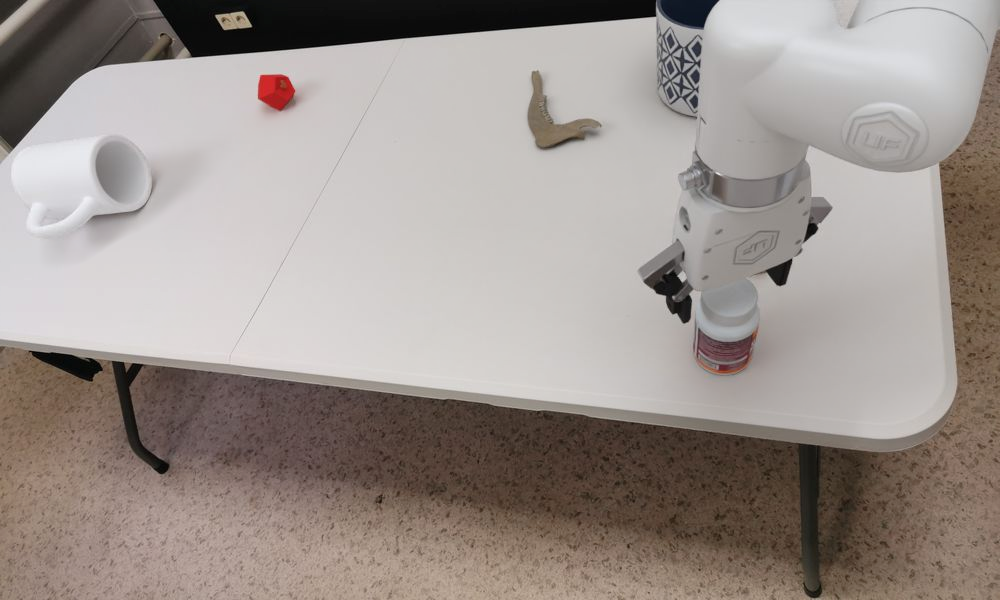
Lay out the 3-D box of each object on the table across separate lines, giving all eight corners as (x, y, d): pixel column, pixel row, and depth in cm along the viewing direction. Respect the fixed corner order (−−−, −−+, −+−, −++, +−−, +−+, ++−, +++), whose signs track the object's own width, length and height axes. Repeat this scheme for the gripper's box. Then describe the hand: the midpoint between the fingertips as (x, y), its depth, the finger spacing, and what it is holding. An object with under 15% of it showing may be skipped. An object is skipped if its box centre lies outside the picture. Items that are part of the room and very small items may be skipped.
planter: (773, 116, 86) (789, 21, 75) (656, 124, 90) (655, 36, 79) (764, 47, 95) (777, -47, 83) (658, 58, 99) (656, -31, 87)
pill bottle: (760, 370, 66) (775, 312, 57) (702, 382, 66) (708, 327, 57) (739, 323, 69) (750, 261, 60) (685, 335, 70) (687, 276, 61)
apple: (239, 86, 112) (260, 76, 107) (266, 69, 116) (287, 59, 111) (262, 120, 116) (283, 112, 110) (287, 103, 119) (309, 95, 114)
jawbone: (553, 165, 91) (550, 155, 89) (491, 101, 103) (488, 91, 102) (604, 133, 91) (601, 122, 90) (536, 73, 104) (533, 63, 102)
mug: (91, 182, 115) (34, 128, 105) (163, 173, 111) (112, 117, 101) (39, 263, 104) (-29, 213, 94) (118, 256, 101) (55, 203, 90)
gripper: (661, 239, 43) (659, 357, 57) (890, 150, 43) (833, 289, 57) (616, 172, 47) (625, 296, 61) (825, 91, 47) (787, 233, 61)
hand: (725, 293), depth 59 cm, fingers open, 9 cm apart
